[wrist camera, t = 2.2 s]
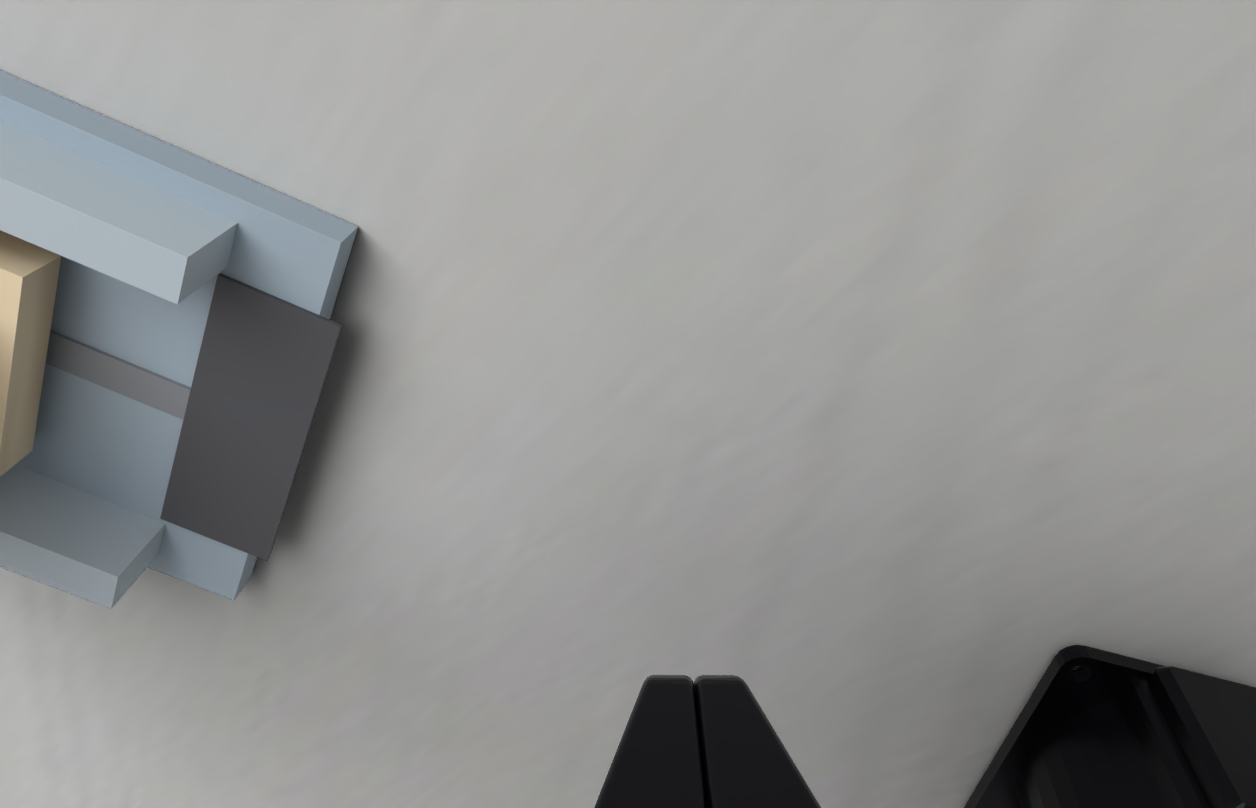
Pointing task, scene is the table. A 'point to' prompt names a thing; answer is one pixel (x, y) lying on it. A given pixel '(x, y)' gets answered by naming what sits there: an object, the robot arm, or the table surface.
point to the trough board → (160, 353)
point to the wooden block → (23, 340)
